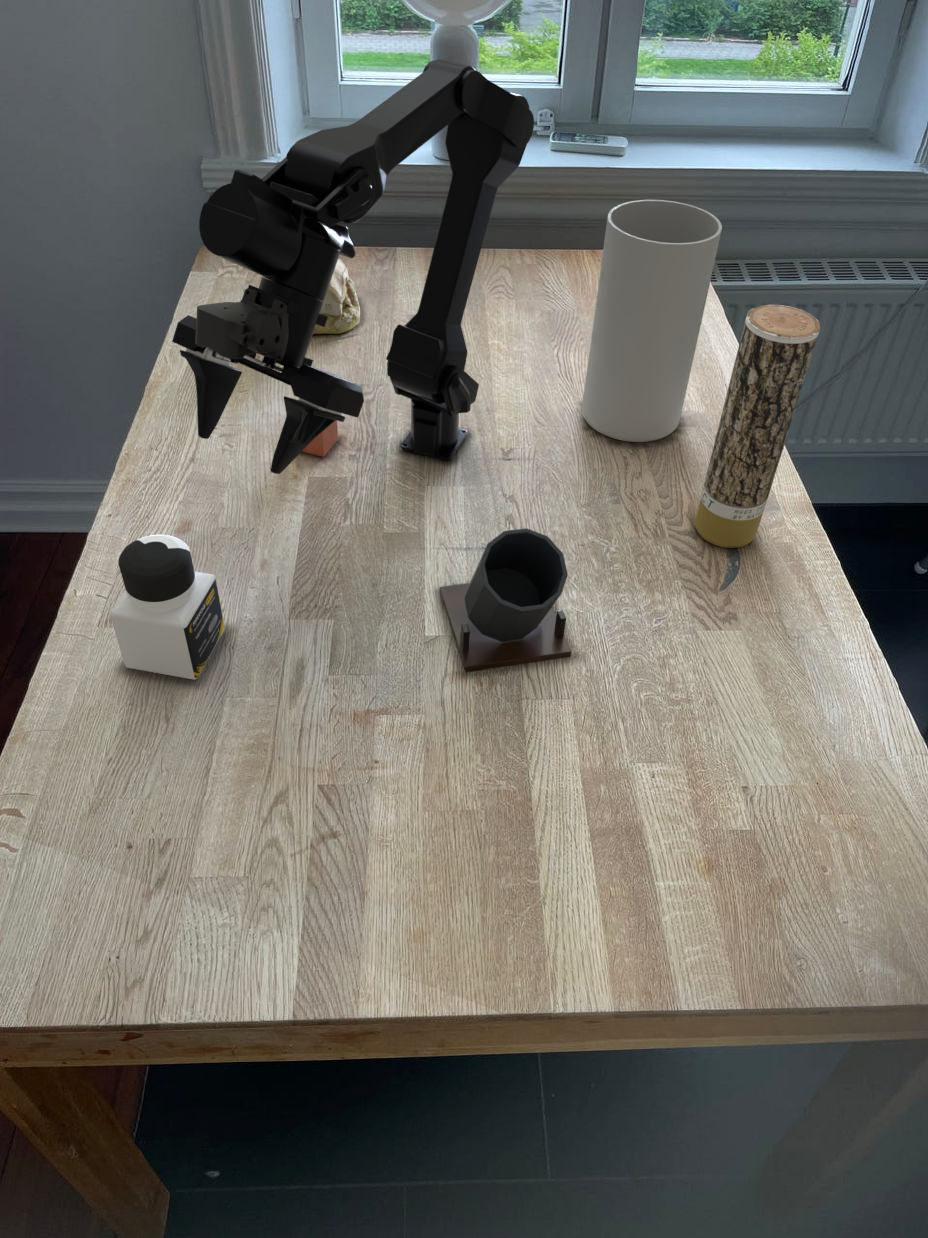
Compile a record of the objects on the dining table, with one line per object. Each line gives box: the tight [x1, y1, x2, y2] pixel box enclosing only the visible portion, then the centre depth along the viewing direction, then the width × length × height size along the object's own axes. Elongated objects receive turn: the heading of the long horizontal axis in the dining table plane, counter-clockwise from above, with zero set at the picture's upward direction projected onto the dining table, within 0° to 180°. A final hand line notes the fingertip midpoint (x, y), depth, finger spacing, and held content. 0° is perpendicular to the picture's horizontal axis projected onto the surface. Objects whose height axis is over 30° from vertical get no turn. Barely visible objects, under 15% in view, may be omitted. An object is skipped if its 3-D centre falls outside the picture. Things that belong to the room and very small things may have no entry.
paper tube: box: [694, 304, 821, 549], centre depth 99 cm, size 7×7×25 cm
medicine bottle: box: [109, 534, 226, 680], centre depth 88 cm, size 7×7×12 cm
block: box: [301, 420, 339, 458], centre depth 116 cm, size 4×4×4 cm
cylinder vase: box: [581, 199, 723, 443], centre depth 116 cm, size 12×12×25 cm
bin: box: [465, 527, 569, 642], centre depth 90 cm, size 8×8×10 cm
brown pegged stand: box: [438, 582, 572, 673], centre depth 95 cm, size 11×10×3 cm
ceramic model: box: [313, 257, 361, 335], centre depth 138 cm, size 14×11×10 cm
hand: (238, 455), depth 90 cm, fingers open, 9 cm apart
